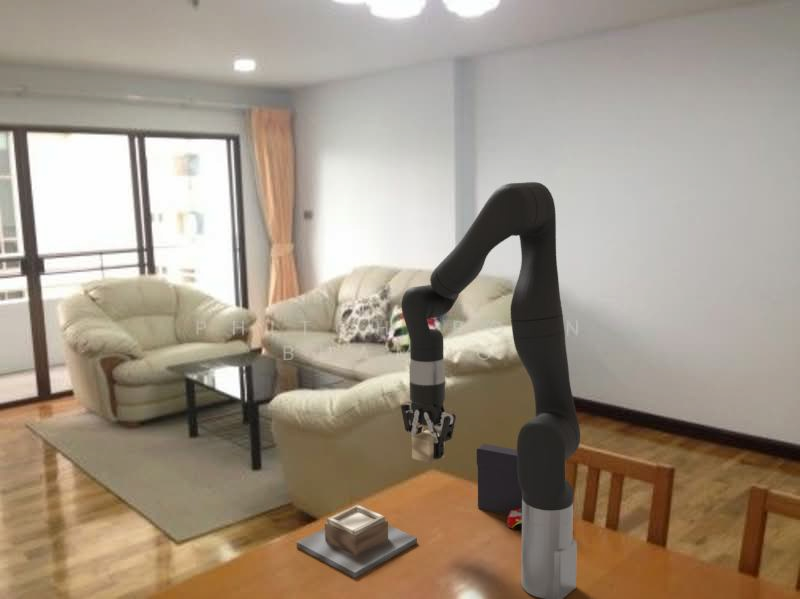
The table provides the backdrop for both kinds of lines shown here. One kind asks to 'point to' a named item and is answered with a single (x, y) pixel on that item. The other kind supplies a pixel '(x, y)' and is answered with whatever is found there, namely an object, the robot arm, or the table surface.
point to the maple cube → (424, 447)
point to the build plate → (361, 559)
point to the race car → (515, 519)
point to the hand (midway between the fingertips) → (428, 454)
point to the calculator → (498, 479)
